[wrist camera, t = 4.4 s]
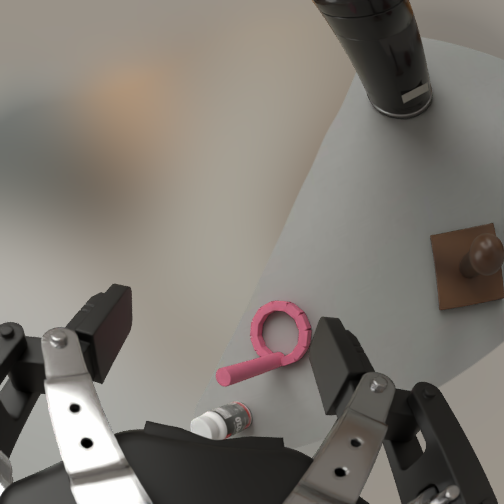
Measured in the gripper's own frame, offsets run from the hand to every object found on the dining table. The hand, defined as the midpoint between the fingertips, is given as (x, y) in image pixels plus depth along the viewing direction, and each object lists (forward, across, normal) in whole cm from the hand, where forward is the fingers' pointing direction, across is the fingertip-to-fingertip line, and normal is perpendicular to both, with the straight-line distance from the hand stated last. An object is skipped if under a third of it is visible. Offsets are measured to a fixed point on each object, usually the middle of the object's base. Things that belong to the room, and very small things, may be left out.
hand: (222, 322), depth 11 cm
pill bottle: (+18, -5, +29) cm, 34 cm away
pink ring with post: (+20, -8, +14) cm, 26 cm away
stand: (+11, -25, -2) cm, 27 cm away
